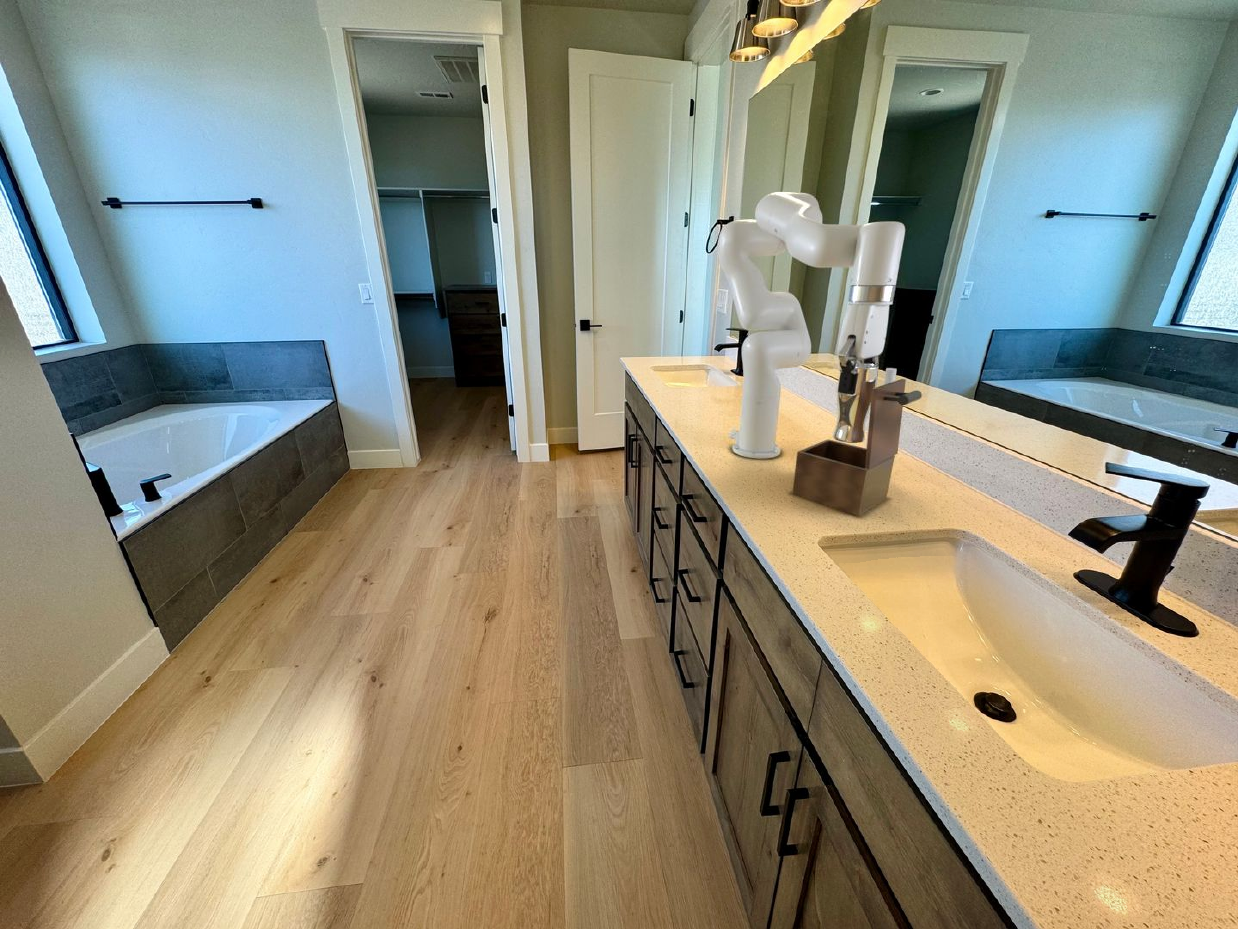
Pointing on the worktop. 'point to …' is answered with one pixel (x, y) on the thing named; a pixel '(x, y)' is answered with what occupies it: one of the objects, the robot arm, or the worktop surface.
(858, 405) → the beer glass
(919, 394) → the lid
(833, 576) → the worktop surface
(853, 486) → the chest
